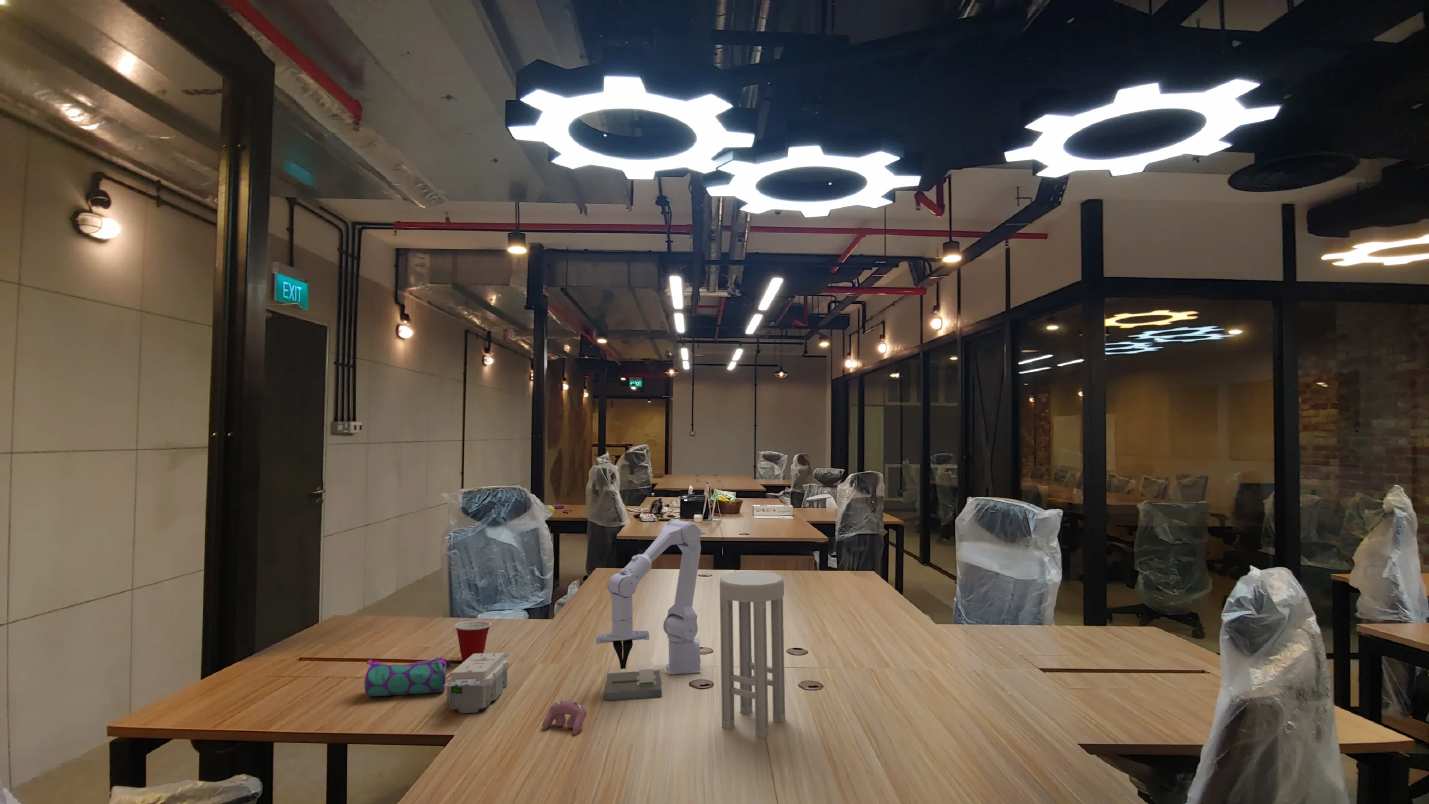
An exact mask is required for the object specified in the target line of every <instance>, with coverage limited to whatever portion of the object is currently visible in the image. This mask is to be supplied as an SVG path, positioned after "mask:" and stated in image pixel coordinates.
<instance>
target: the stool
mask: <svg viewBox="0 0 1429 804" xmlns="http://www.w3.org/2000/svg"><path fill="white" fill-rule="evenodd" d="M784 596H785V582H784V579H783V576H782V575H780V574H777V573H774V572H770V571H769V572H767V571H761V570H751V571H750V570H749V571H747V570H742V571H736V572H729V573H726V574H723V575H721V576H720V579H719V613H720V614H719V618H720V619H719V623H720V630H719V631H720V684H721V685H720V686H721V687H720V688H721V689H720V690H721V692H720V693H721V695H720V697H721V728H722V729H727V730H730V729H732V728H733V727H735V726H736V725H735V695H736V696H739V698H740V699H739V705H740V706H739V707H740V714H743V715H747V716H749V715H750V714H752V712H753V700H754V718H755V719H754V723H755V724H754V726H755V727H754V728H755V729H754V730H755V735H754V736H755V737H756V738H760V739H763V740H764V739H765V738H766V737H767V736H768V735H769V697H768V696H769V693H768V692H769V691H768V689H769V688H768V687H771V689H772V721H773V722H775V723H777V724H778V723H779V724H782V723H783V722H785V721H786V695H785V694H786V692H785V691H786V689H785V688H786V687H785V685H786V684H785V641H784V639H785V638H784V636H785V635H784V634H785V633H784V632H785V631H784ZM733 602H738V629H739V630H738V635H739V636H738V637H739V638H738V640H739V641H738V643H739V645H738V646H739V649H738V650H739V654H738V655H739V675H738V674H735V669H734V667H735V665H734V664H735V663H734V610H733V609H734V605H733ZM767 602H770V625H771V627H770V630H771V632H770V634H771V636H770V637H771V666H769V665H768V642H767V639H768V635H767V634H768V633H767ZM751 603H753V604H752V606H753V611H752V610H751V609H752V607H751ZM751 612H753V614H752V613H751ZM752 615H753V656H754V657H753V662H752ZM753 670H754V673H753ZM768 674H771V679H770V678H768ZM735 682H736V683H739V688H738V687H735ZM753 687H754V691H753Z"/></svg>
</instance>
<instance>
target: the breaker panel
mask: <svg viewBox="0 0 1429 804" xmlns="http://www.w3.org/2000/svg"><path fill="white" fill-rule="evenodd" d="M606 674H607V675H606V682H605V690H604V701H605V700H609V701H621V700H623V699H625V700H636V699H637V700H638V699H651V698H662V695H663V688H662V680H661V670H655V669H654V682H644V683H639V671H625V672H623V671H622V672H608V673H606ZM623 701H624V700H623Z"/></svg>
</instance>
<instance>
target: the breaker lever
mask: <svg viewBox="0 0 1429 804" xmlns="http://www.w3.org/2000/svg"><path fill="white" fill-rule="evenodd" d="M654 671H655V669H654V662H639V664H638V672H639V683H644V682H654Z"/></svg>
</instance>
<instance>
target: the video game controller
mask: <svg viewBox="0 0 1429 804" xmlns="http://www.w3.org/2000/svg"><path fill="white" fill-rule="evenodd" d="M587 712H588V711H587V709H586V707H584V706H583V705H581V704H580V703H578V702H575V701H573V700H561V701H555V702H553V704H552V705H551V706H550V707H549V709H548V711H547V712H546V715H545V717H544V718H543V721H542V729H543V731H546V730H547V728H548V727H550V726H551V725H552V724H553V723H554V720H555V725H556V726H557V727H563V726H565V725H567V727H568V728H569V729H572V734H573V735H574V736H575V735H577V734H578V733H579V732H580V731H581V729H582V727H583V724H584V721H585V718H587ZM566 715H569V716H570V717H568V719H567V718H566ZM566 719H567V720H566ZM545 729H546V730H545ZM548 729H549V728H548Z"/></svg>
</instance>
